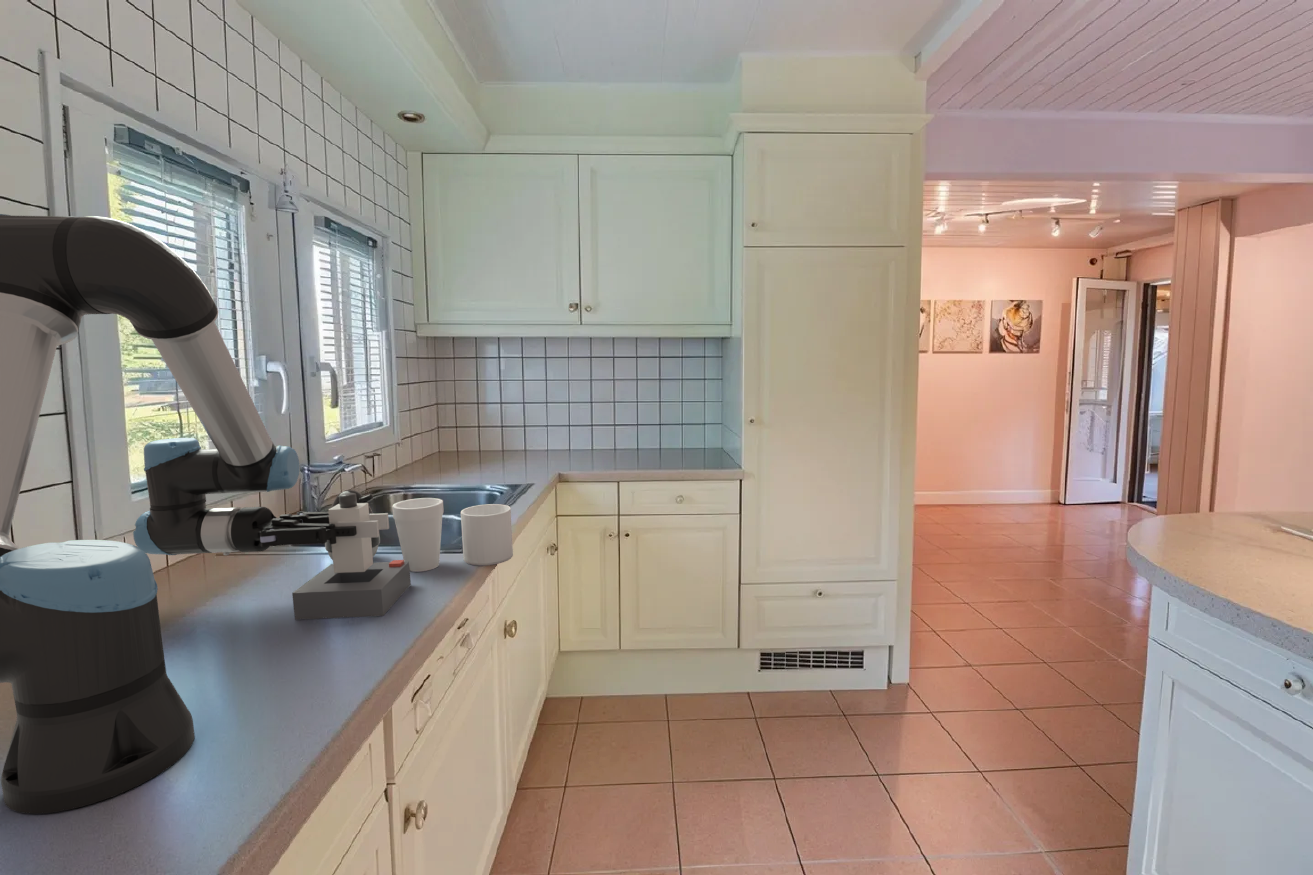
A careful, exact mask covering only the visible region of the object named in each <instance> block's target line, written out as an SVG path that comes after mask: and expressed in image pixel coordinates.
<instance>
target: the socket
mask: <svg viewBox="0 0 1313 875" xmlns="http://www.w3.org/2000/svg"><path fill="white" fill-rule="evenodd" d="M411 585H412V583H411V571H410V567H409V561H404V559H393V560H392V561H382V562H381V561H380V562H379V561H378V562H373V565H371V566H370V567H369V568H368V569H367V570H366V571H365V572H345V573H334V567H333V563H331V564H329V565H328V566H327V567H325V568H324V569H323V570H322V571H320V572H318V574H315V575H314V576H313V577H312V578H310V579H309V580H308V581H306V582H305V583H304V584H302V585H301V586H299V587H298V588H297V589H295V590H294V591H293V592H292V594H291V595H292V605H293V614H294V615H293V616H294V620H296V621H297V620H313V619H317V620H320V619H339V618H342V619H343V618H364V617H384V616H385V615H386V613H387V612H388V611H389V610H390V609H391V608H392V607H393V606H394V605H395V603H396V602H397V601H398V600H399V598H401V597H402V595H403V594H404V593H405V592H406V591H407V590H408V589H409V587H410V586H411Z"/></svg>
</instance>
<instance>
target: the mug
mask: <svg viewBox="0 0 1313 875" xmlns="http://www.w3.org/2000/svg"><path fill="white" fill-rule="evenodd" d="M511 510H512V509H511V506H509V505H507V504H500V503H499V504H498V503H490V504H478V505H472V506H469V507H465V508H463V509H462V510H461V511H460V523H461V524H460V525H461V526H460V527H461V539H462V540H461V541H462V555H463V557H462V558H463V561H464V562H465V563H466V564H468V565H471V566H478V567H479V566H480V567H481V566H482V567H483V566H485V567H486V566H492V565H498V564H503V563H506V562H508V561H509V560H511V559H512V558H513V557H514V551H513V550H514V548H513V546H514V545H513V530H512V526H513V525H512V511H511Z"/></svg>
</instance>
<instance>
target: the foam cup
mask: <svg viewBox="0 0 1313 875" xmlns="http://www.w3.org/2000/svg"><path fill="white" fill-rule="evenodd" d="M391 509H392V519H393V520H394V523H395V527H396V532H397V536H398V537H397V538H398V540H399V545H400V549H401V553H402V558H403V559H402V560H404V561H409V567H410V572H413V573H417V572H419V573H420V572H426V571H430V570H434V569H436V568H437V567H439V566H440V559H441V558H440V555H441V543H442V542H441V541H442V528H443V527H442V525H443V515H444V511H445V510H444V499H441V498H437V497H436V498H434V497H421V498H412V499H410V498H409V499H406V500H405V499H404V500H400V501H397V502H395V503H393V505H392V506H391Z"/></svg>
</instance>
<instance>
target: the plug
mask: <svg viewBox="0 0 1313 875" xmlns="http://www.w3.org/2000/svg"><path fill="white" fill-rule="evenodd" d="M338 495H339V494H338ZM339 501H340V504H337V505H336V506H334V507H332V506H331V507H332V508H331V507H330V508H328V511H327V512H328V513H329V524H335V527H337V524H336V523H337V522H347V521H370V519H369V507H368V504H369V502H368V503H357V499H356V493H346V494H341V495H339ZM331 545H332V556H333V560H332V564H333V567H334V573H345V572H365V571H366V570H367V569H368V568H369V567H370V566H371V565H373V563H374V557H373V555H372V543H371V538H342V539H338V537H336V543H335V544H331Z"/></svg>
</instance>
